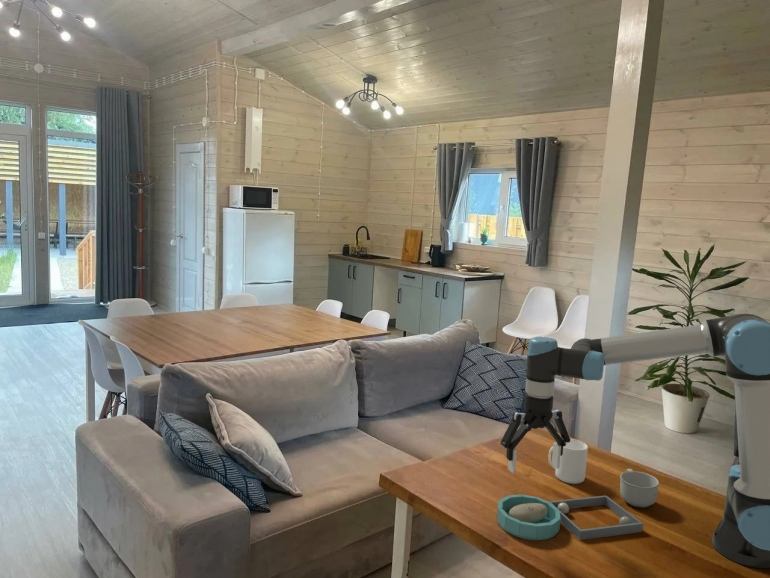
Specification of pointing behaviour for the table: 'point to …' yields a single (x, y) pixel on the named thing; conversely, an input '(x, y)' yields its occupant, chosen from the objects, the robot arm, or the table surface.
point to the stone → (529, 512)
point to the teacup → (638, 488)
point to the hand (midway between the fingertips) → (533, 468)
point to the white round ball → (563, 508)
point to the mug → (572, 462)
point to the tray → (601, 531)
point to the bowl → (524, 529)
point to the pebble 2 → (624, 520)
